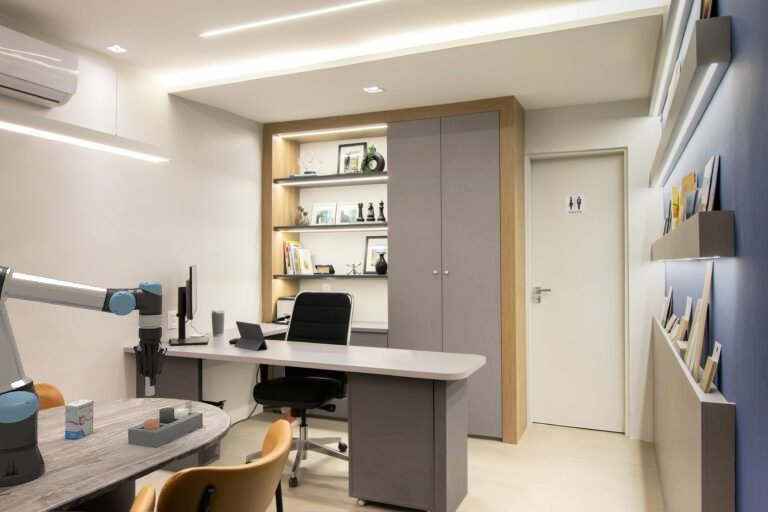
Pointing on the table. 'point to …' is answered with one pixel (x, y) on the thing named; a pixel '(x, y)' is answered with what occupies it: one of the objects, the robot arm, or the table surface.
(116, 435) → the table surface
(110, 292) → the robot arm
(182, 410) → the button ivory
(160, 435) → the panel
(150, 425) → the button terracotta
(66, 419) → the ink box
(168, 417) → the button black
